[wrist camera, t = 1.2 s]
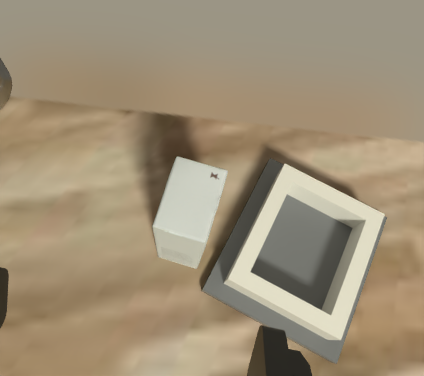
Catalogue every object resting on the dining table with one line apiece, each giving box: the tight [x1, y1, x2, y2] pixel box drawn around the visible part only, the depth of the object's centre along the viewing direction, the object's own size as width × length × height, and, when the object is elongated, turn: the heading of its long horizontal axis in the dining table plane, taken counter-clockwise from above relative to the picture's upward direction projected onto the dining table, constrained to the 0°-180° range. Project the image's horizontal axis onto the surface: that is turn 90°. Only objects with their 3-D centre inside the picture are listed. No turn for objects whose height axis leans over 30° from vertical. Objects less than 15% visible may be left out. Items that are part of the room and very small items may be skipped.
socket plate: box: [202, 158, 387, 364], centre depth 38 cm, size 14×16×4 cm
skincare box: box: [152, 156, 228, 269], centre depth 33 cm, size 6×4×12 cm
